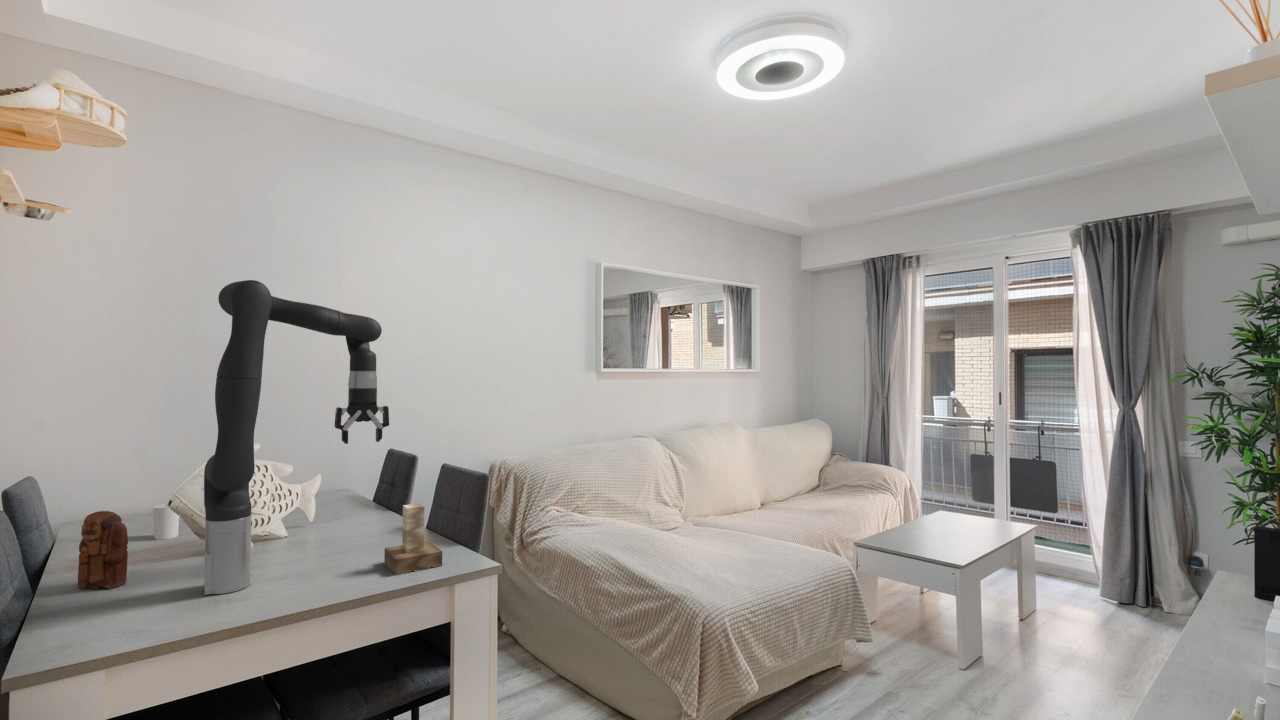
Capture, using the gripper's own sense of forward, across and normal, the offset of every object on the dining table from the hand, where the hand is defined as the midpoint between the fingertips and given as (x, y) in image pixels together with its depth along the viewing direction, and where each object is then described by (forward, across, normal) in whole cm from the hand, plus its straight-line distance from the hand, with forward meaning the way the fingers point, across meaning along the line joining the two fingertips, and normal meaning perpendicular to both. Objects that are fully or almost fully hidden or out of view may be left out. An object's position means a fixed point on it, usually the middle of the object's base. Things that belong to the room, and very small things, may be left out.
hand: (362, 442), depth 172 cm
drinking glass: (+32, -46, +53) cm, 77 cm away
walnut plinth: (+32, +10, -18) cm, 38 cm away
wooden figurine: (+32, -57, +10) cm, 66 cm away
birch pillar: (+28, +10, -18) cm, 35 cm away
